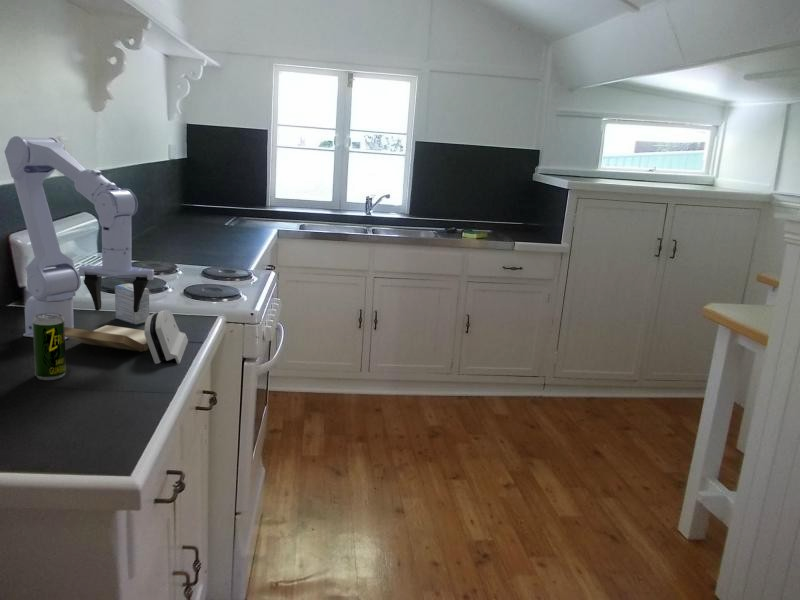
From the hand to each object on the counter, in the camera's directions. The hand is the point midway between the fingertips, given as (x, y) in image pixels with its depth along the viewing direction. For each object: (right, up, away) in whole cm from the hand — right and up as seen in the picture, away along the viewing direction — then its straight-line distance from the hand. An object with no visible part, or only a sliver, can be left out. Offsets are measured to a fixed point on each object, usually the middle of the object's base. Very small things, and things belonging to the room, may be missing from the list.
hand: (117, 310), depth 145 cm
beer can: (-7, -13, -13) cm, 20 cm away
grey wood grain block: (-7, -3, +26) cm, 27 cm away
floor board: (-2, -7, +10) cm, 12 cm away
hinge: (+8, -10, +6) cm, 14 cm away
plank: (-4, -7, +1) cm, 8 cm away
